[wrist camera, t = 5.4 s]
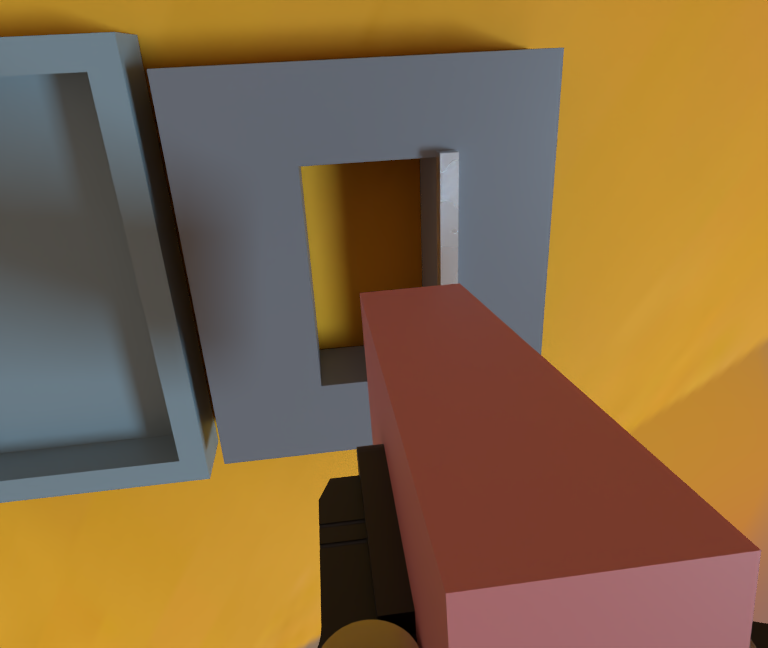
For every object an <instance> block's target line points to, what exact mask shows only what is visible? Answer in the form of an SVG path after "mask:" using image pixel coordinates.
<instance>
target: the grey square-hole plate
mask: <svg viewBox="0 0 768 648" xmlns="http://www.w3.org/2000/svg"><path fill="white" fill-rule="evenodd" d="M563 52H564V48H543V49H520V50H500V51H481V52H461V53H441V54H422V55H402V56H383V57H363V58H343V59H324V60H304V61H285V62H265V63H245V64H226V65H206V66H187V67H167V68H154V69H147V73H148V78H149V84H150V89H151V94H152V99H153V104H154V109H155V114H156V119H157V124H158V129H159V134H160V139H161V144H162V149H163V154H164V159H165V164H166V169H167V175H168V180H169V185H170V190H171V195H172V200H173V205H174V210H175V215H176V220H177V225H178V230H179V235H180V240H181V245H182V250H183V255H184V260H185V266H186V271H187V276H188V281H189V286H190V291H191V296H192V301H193V306H194V311H195V316H196V321H197V326H198V331H199V336H200V341H201V346H202V351H203V357H204V362H205V367H206V372H207V377H208V382H209V387H210V392H211V397H212V402H213V407H214V412H215V417H216V422H217V427H218V432H219V437H220V442H221V447H222V453H223V458H224V463H225V464H228V463H237V462H246V461H254V460H263V459H272V458H281V457H290V456H299V455H307V454H316V453H325V452H334V451H343V450H351V449H357V447H359V446H368V445H373V439H372V428H371V416H370V405H369V394H368V382H367V371H366V360H365V348H364V346H353V347H343V348H333V349H322V350H319V340H318V331H317V321H316V311H315V302H314V292H313V282H312V273H311V263H310V253H309V244H308V234H307V224H306V215H305V205H304V195H303V186H302V176H301V166H312V165H327V164H341V163H356V162H371V161H386V160H400V159H415V158H420V197H421V248H422V287H427V286H437V285H448V284H458V283H460V284H461V285H462V286H463V287H464V288H466V289H467V290H468V291H469V292H470V293H471V294H472V295H473V296H475V297H476V298H477V299H478V300H479V301H480V302H481V303H483V304H484V305H485V306H486V307H487V308H488V309H489V310H490V311H492V312H493V313H494V314H495V315H496V316H497V317H498V318H499V319H501V320H502V321H503V322H504V323H505V324H506V325H507V326H508V327H510V328H511V329H512V330H513V331H514V332H515V333H516V334H517V335H519V336H520V337H521V338H522V339H523V340H524V341H525V342H527V343H528V344H529V345H530V346H531V347H532V348H533V349H534V350H536V351H537V352H538V353H539V354H540V355H541V346H542V333H543V319H544V306H545V293H546V279H547V266H548V253H549V239H550V226H551V212H552V199H553V186H554V172H555V159H556V146H557V132H558V119H559V106H560V92H561V79H562V66H563Z"/></svg>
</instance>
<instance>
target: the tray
mask: <svg viewBox="0 0 768 648" xmlns="http://www.w3.org/2000/svg"><path fill="white" fill-rule="evenodd" d="M217 445H218V438H217V433H216V428H215V423H214V418H213V413H212V408H211V403H210V398H209V393H208V388H207V383H206V378H205V373H204V368H203V363H202V358H201V353H200V348H199V343H198V338H197V333H196V328H195V323H194V318H193V313H192V308H191V303H190V298H189V293H188V288H187V283H186V278H185V273H184V268H183V263H182V258H181V253H180V248H179V243H178V238H177V233H176V228H175V223H174V218H173V213H172V208H171V203H170V198H169V193H168V188H167V183H166V178H165V173H164V168H163V163H162V158H161V153H160V148H159V143H158V138H157V133H156V128H155V123H154V118H153V113H152V108H151V103H150V98H149V93H148V88H147V83H146V78H145V73H144V68H143V63H142V58H141V53H140V48H139V43H138V37H137V35H133V34H125V33H118V32H104V33H82V34H60V35H38V36H16V37H0V503H2V502H11V501H20V500H28V499H37V498H46V497H54V496H63V495H72V494H80V493H89V492H98V491H106V490H115V489H124V488H132V487H141V486H150V485H158V484H167V483H176V482H184V481H193V480H202V479H210V476H211V471H212V467H213V462H214V458H215V454H216V449H217Z"/></svg>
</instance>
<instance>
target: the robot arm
mask: <svg viewBox="0 0 768 648" xmlns="http://www.w3.org/2000/svg"><path fill="white" fill-rule="evenodd" d="M357 460H358V472H359V475H358V476H349V477H341V478H332V479H330V480H329V482H328V484H327V486H326V488H325V490H324V491H323V493H322V495H321V497H320V499H319V526H320V529H319V532H320V578H321V624H322V627H321V637H320V642H319V645H318V648H419V646H418V642H417V636H416V623H415V609H414V604H413V598H412V593H411V588H410V582H409V577H408V572H407V566H406V561H405V555H404V550H403V545H402V539H401V534H400V529H399V523H398V518H397V512H396V507H395V502H394V496H393V491H392V486H391V480H390V475H389V470H388V464H387V459H386V453H385V448H384V444H377V445H368V446H359V447H357ZM749 648H768V624H766V623H759V622H754V621H752V630H751V638H750V646H749Z"/></svg>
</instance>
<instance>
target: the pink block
mask: <svg viewBox="0 0 768 648" xmlns="http://www.w3.org/2000/svg"><path fill="white" fill-rule="evenodd" d="M360 303H361V314H362V326H363V337H364V348H365V360H366V371H367V382H368V394H369V405H370V416H371V428H372V439H373V445H377V444H384V448H385V453H386V459H387V464H388V470H389V475H390V480H391V486H392V491H393V496H394V502H395V507H396V512H397V518H398V523H399V529H400V534H401V539H402V545H403V550H404V555H405V561H406V566H407V572H408V577H409V582H410V588H411V593H412V598H413V604H414V609H415V623H416V636H417V642H418V646H419V648H749V646H750V638H751V630H752V621H753V612H754V604H755V596H756V588H757V579H758V571H759V563H760V554H761V550H760V549H759V548H758V547H757V546H755V545H754V544H753V543H752V542H751V541H750V540H749V539H748V538H746V537H745V536H744V535H743V534H742V533H741V532H740V531H739V530H737V529H736V528H735V527H734V526H733V525H732V524H731V523H730V522H728V521H727V520H726V519H725V518H724V517H723V516H722V515H720V514H719V513H718V512H717V511H716V510H715V509H714V508H713V507H712V506H710V505H709V504H708V503H707V502H706V501H705V500H704V499H702V498H701V497H700V496H699V495H698V494H697V493H696V492H695V491H693V490H692V489H691V488H690V487H689V486H688V485H687V484H686V483H684V482H683V481H682V480H681V479H680V478H679V477H678V476H677V475H675V474H674V473H673V472H672V471H671V470H670V469H669V468H668V467H666V466H665V465H664V464H663V463H662V462H661V461H660V460H658V459H657V458H656V457H655V456H654V455H653V454H651V452H649V451H648V450H647V449H646V448H645V447H644V446H643V445H642V444H640V443H639V442H638V441H637V440H636V439H635V438H634V437H632V436H631V435H630V434H629V433H628V432H627V431H626V430H625V429H624V428H622V427H621V426H620V425H619V424H618V423H617V422H616V421H615V420H613V419H612V418H611V417H610V416H609V415H608V414H607V413H605V412H604V411H603V410H602V409H601V408H600V407H599V406H598V405H596V404H595V403H594V402H593V401H592V400H591V399H590V398H589V397H587V396H586V395H585V394H584V393H583V392H582V391H581V390H580V389H578V388H577V387H576V386H575V385H574V384H573V383H572V382H571V381H569V380H568V379H567V378H566V377H565V376H564V375H563V374H561V373H560V372H559V371H558V370H557V369H556V368H555V367H554V366H552V365H551V364H550V363H549V362H548V361H547V360H546V359H545V358H543V357H542V356H541V355H540V354H539V353H538V352H537V351H536V350H534V349H533V348H532V347H531V346H530V345H529V344H528V343H527V342H525V341H524V340H523V339H522V338H521V337H520V336H519V335H517V334H516V333H515V332H514V331H513V330H512V329H511V328H510V327H508V326H507V325H506V324H505V323H504V322H503V321H502V320H501V319H499V318H498V317H497V316H496V315H495V314H494V313H493V312H492V311H490V310H489V309H488V308H487V307H486V306H485V305H484V304H483V303H481V302H480V301H479V300H478V299H477V298H476V297H475V296H473V295H472V294H471V293H470V292H469V291H468V290H467V289H466V288H464V287H463V286H462V285H461V284H460V283H458V284H448V285H437V286H427V287H416V288H406V289H395V290H385V291H374V292H364V293H360Z"/></svg>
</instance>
